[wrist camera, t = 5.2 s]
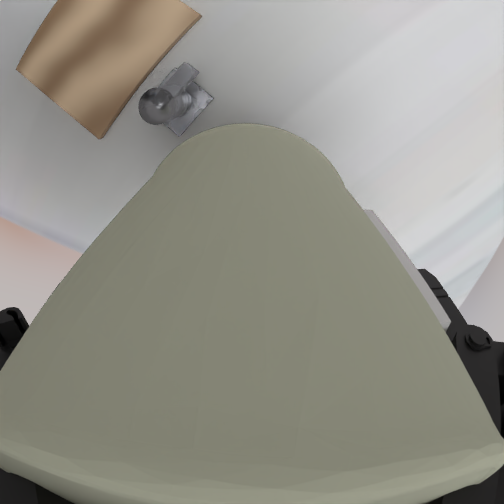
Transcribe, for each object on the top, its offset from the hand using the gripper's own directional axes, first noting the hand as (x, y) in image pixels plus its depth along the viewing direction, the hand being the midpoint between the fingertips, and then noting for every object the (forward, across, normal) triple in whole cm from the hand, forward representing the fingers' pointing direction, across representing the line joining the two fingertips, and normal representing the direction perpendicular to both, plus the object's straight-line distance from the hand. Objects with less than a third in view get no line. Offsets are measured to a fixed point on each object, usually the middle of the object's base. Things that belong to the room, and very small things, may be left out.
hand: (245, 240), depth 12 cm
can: (+1, 0, 0) cm, 1 cm away
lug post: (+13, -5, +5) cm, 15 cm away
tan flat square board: (+13, -12, +12) cm, 22 cm away
